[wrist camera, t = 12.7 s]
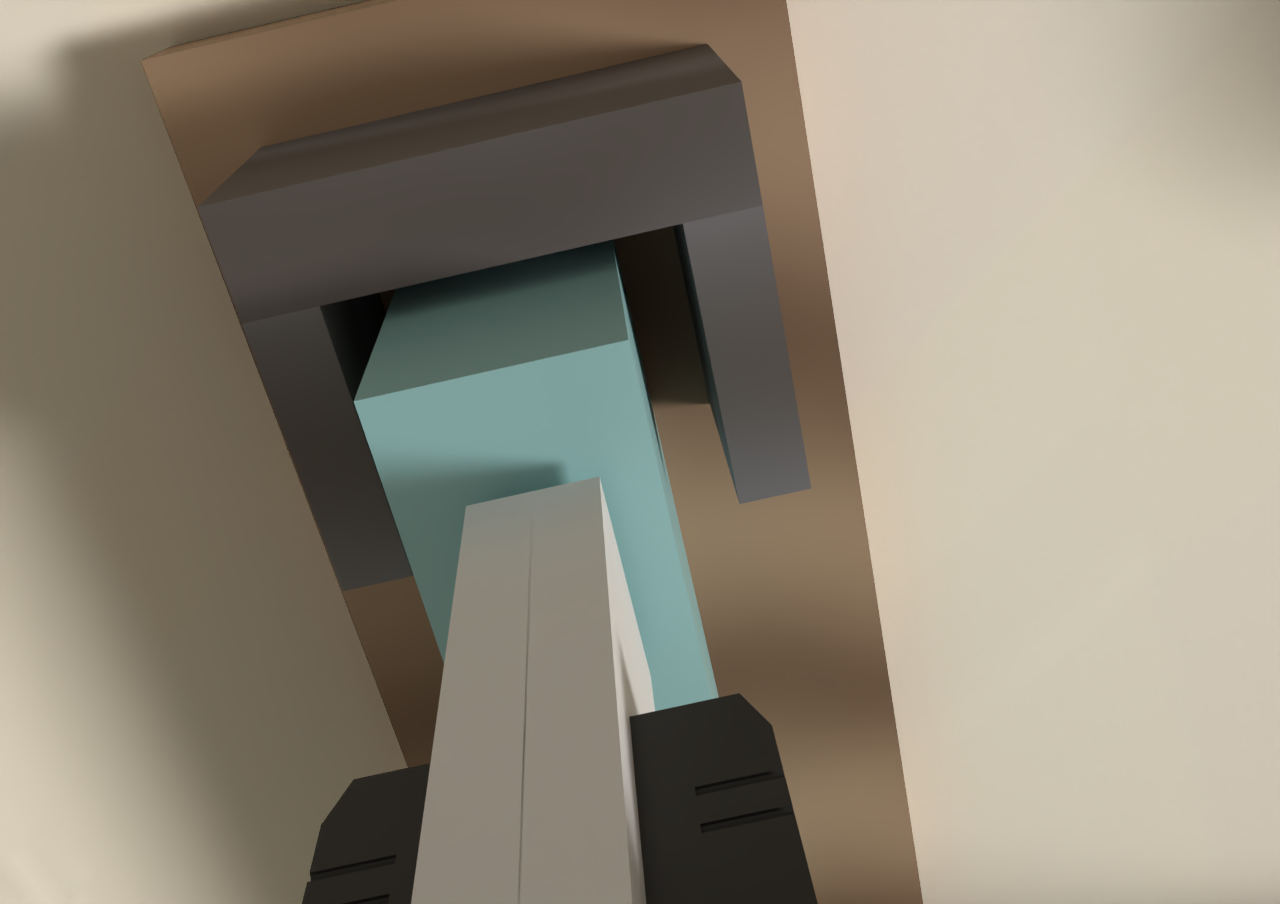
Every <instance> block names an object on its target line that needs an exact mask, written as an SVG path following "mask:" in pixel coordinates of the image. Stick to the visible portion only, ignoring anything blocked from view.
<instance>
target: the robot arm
mask: <svg viewBox="0 0 1280 904" xmlns="http://www.w3.org/2000/svg"><path fill="white" fill-rule="evenodd" d="M310 876H311V882H307V886H306V890H305V894H304V898H303V902H302V904H818V903H817V899H816V895H815V891H814V887H813V883H812V879H811V875H810V871H809V868H808V864H807V860H806V856H805V852H804V848H803V844H802V840H801V836H800V833H799V829H798V825H797V821H796V817H795V814H794V810H793V805H792V801H791V797H790V794H789V790H788V786H787V782H786V778H785V775H784V771H783V766H782V762H781V759H780V755H779V751H778V747H777V743H776V739H775V735H774V731H773V727H772V725H771V724H770V723H769V722H768V721H767V720H766V719H765V718H764V717H763V716H762V715H761V714H760V713H759V712H758V711H757V710H756V709H755V708H754V707H753V706H752V705H751V704H750V703H749V702H748V701H747V700H746V699H745V698H744V697H743V696H742V695H741V694H740V693H738V694H733V695H728V696H724V697H719V698H714V699H710V700H705V701H700V702H696V703H691V704H686V705H682V706H677V707H672V708H667V709H663V710H658V711H655V706H654V698H653V690H652V682H651V675H650V671H649V667H648V663H647V660H646V656H645V652H644V648H643V644H642V640H641V636H640V632H639V628H638V625H637V621H636V617H635V613H634V609H633V605H632V601H631V597H630V593H629V589H628V586H627V582H626V578H625V574H624V570H623V566H622V562H621V558H620V554H619V551H618V547H617V543H616V539H615V535H614V531H613V527H612V523H611V519H610V515H609V512H608V508H607V504H606V500H605V496H604V492H603V488H602V484H601V480H600V477H595V478H590V479H586V480H581V481H576V482H572V483H567V484H563V485H558V486H554V487H549V488H545V489H540V490H536V491H531V492H527V493H522V494H518V495H513V496H509V497H504V498H500V499H495V500H491V501H486V502H481V503H477V504H472V505H468V506H466V510H465V517H464V524H463V531H462V539H461V546H460V553H459V560H458V568H457V575H456V582H455V589H454V597H453V604H452V611H451V618H450V626H449V633H448V640H447V647H446V654H445V662H444V669H443V676H442V683H441V691H440V698H439V705H438V712H437V720H436V727H435V734H434V741H433V748H432V756H431V763H429V764H424V765H420V766H415V767H410V768H406V769H401V770H396V771H392V772H387V773H382V774H378V775H373V776H368V777H364V778H359V779H354V780H353V781H352V783H351V784H350V786H349V787H348V788H347V790H346V791H345V793H344V794H343V795H342V797H341V798H340V800H339V801H338V802H337V804H336V805H335V807H334V808H333V809H332V811H331V812H330V814H329V815H328V816H327V818H326V819H325V821H324V822H323V823H322V825H321V828H320V832H319V837H318V841H317V845H316V849H315V853H314V857H313V861H312V865H311V869H310Z"/></svg>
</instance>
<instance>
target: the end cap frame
mask: <svg viewBox="0 0 1280 904" xmlns="http://www.w3.org/2000/svg"><path fill="white" fill-rule="evenodd" d="M141 63H142V66H143V68H144V71H145V74H146V76H147V79H148V81H149V84H150V87H151V89H152V92H153V95H154V97H155V100H156V103H157V105H158V108H159V110H160V113H161V116H162V118H163V121H164V124H165V126H166V129H167V132H168V134H169V137H170V140H171V142H172V145H173V147H174V150H175V153H176V155H177V158H178V161H179V163H180V166H181V169H182V171H183V174H184V177H185V179H186V182H187V184H188V187H189V190H190V192H191V195H192V198H193V200H194V203H195V206H196V208H197V211H198V213H199V216H200V219H201V221H202V224H203V227H204V229H205V232H206V235H207V237H208V240H209V243H210V245H211V248H212V250H213V253H214V256H215V258H216V261H217V264H218V266H219V269H220V272H221V274H222V277H223V280H224V282H225V285H226V287H227V290H228V293H229V295H230V298H231V301H232V303H233V306H234V309H235V311H236V314H237V316H238V319H239V322H240V324H241V327H242V330H243V332H244V335H245V338H246V340H247V343H248V346H249V348H250V351H251V353H252V356H253V359H254V361H255V364H256V367H257V369H258V372H259V375H260V377H261V380H262V382H263V385H264V388H265V390H266V393H267V396H268V398H269V401H270V404H271V406H272V409H273V412H274V414H275V417H276V419H277V422H278V425H279V427H280V430H281V433H282V435H283V438H284V441H285V443H286V446H287V449H288V451H289V454H290V456H291V459H292V462H293V464H294V467H295V470H296V472H297V475H298V478H299V480H300V483H301V485H302V488H303V491H304V493H305V496H306V499H307V501H308V504H309V507H310V509H311V512H312V515H313V517H314V520H315V522H316V525H317V528H318V530H319V533H320V536H321V538H322V541H323V544H324V546H325V549H326V551H327V554H328V557H329V559H330V562H331V565H332V567H333V570H334V573H335V575H336V578H337V581H338V583H339V586H340V588H341V591H342V594H343V596H344V599H345V602H346V604H347V607H348V610H349V612H350V615H351V618H352V620H353V623H354V625H355V628H356V631H357V633H358V636H359V639H360V641H361V644H362V647H363V649H364V652H365V654H366V657H367V660H368V662H369V665H370V668H371V670H372V673H373V676H374V678H375V681H376V684H377V686H378V689H379V691H380V694H381V697H382V699H383V702H384V705H385V707H386V710H387V713H388V715H389V718H390V721H391V723H392V726H393V728H394V731H395V734H396V736H397V739H398V742H399V744H400V747H401V750H402V752H403V755H404V757H405V760H406V763H407V765H408V768H410V767H415V766H420V765H424V764H429V763H431V756H432V748H433V741H434V734H435V727H436V720H437V712H438V705H439V698H440V691H441V683H442V676H443V669H444V662H443V659H442V656H441V653H440V650H439V647H438V645H437V642H436V639H435V636H434V633H433V630H432V627H431V624H430V621H429V618H428V616H427V613H426V610H425V607H424V604H423V601H422V598H421V595H420V592H419V589H418V587H417V584H416V581H415V578H414V575H413V572H412V569H411V566H410V563H409V560H408V558H407V555H406V552H405V549H404V546H403V543H402V540H401V537H400V534H399V531H398V529H397V526H396V523H395V520H394V517H393V514H392V511H391V508H390V505H389V502H388V500H387V497H386V494H385V491H384V488H383V485H382V482H381V479H380V476H379V473H378V471H377V468H376V465H375V462H374V459H373V456H372V453H371V450H370V447H369V444H368V442H367V439H366V436H365V433H364V430H363V427H362V424H361V421H360V418H359V416H358V413H357V410H356V407H355V404H354V399H355V396H356V394H357V391H358V388H359V386H360V383H361V380H362V378H363V375H364V372H365V370H366V367H367V364H368V362H369V359H370V356H371V354H372V351H373V348H374V346H375V343H376V340H377V338H378V335H379V332H380V330H381V327H382V324H383V322H384V319H385V316H386V314H387V311H388V308H389V306H390V303H391V300H392V298H393V295H394V292H395V290H396V289H397V288H402V287H406V286H410V285H415V284H419V283H424V282H428V281H432V280H437V279H441V278H446V277H450V276H454V275H459V274H463V273H468V272H472V271H476V270H481V269H485V268H490V267H494V266H498V265H503V264H507V263H512V262H516V261H520V260H525V259H529V258H534V257H538V256H542V255H547V254H551V253H556V252H560V251H564V250H569V249H573V248H578V247H582V246H586V245H591V244H595V243H600V242H604V241H608V240H613V239H615V244H616V248H617V253H618V257H619V261H620V266H621V270H622V274H623V279H624V283H625V288H626V292H627V296H628V301H629V305H630V310H631V314H632V318H633V323H634V327H635V332H636V336H637V340H638V345H639V349H640V354H641V358H642V362H643V367H644V371H645V375H646V380H647V384H648V389H649V393H650V397H651V402H652V406H653V411H654V415H655V419H656V424H657V428H658V433H659V437H660V441H661V446H662V450H663V454H664V459H665V463H666V468H667V472H668V476H669V481H670V485H671V490H672V494H673V498H674V503H675V507H676V512H677V516H678V520H679V525H680V529H681V534H682V538H683V542H684V547H685V551H686V555H687V560H688V564H689V569H690V573H691V577H692V582H693V586H694V591H695V595H696V599H697V604H698V608H699V613H700V617H701V621H702V626H703V630H704V634H705V639H706V643H707V648H708V652H709V656H710V661H711V665H712V670H713V674H714V678H715V683H716V687H717V692H718V696H719V697H724V696H728V695H733V694H738V693H740V694H741V695H742V696H743V697H744V698H745V699H746V700H747V701H748V702H749V703H750V704H751V705H752V706H753V707H754V708H755V709H756V710H757V711H758V712H759V713H760V714H761V715H762V716H763V717H764V718H765V719H766V720H767V721H768V722H769V723H770V724H771V725H772V727H773V731H774V735H775V739H776V743H777V747H778V751H779V755H780V759H781V762H782V766H783V771H784V775H785V778H786V782H787V786H788V790H789V794H790V797H791V801H792V805H793V810H794V814H795V817H796V821H797V825H798V829H799V833H800V836H801V840H802V844H803V848H804V852H805V856H806V860H807V864H808V868H809V871H810V875H811V879H812V883H813V887H814V891H815V895H816V899H817V903H818V904H923V901H922V894H921V888H920V881H919V874H918V868H917V861H916V855H915V848H914V841H913V835H912V828H911V822H910V815H909V808H908V802H907V795H906V789H905V782H904V775H903V769H902V762H901V756H900V749H899V742H898V736H897V729H896V723H895V716H894V709H893V703H892V696H891V690H890V683H889V676H888V670H887V663H886V657H885V650H884V643H883V637H882V630H881V624H880V617H879V610H878V604H877V597H876V591H875V584H874V578H873V571H872V564H871V558H870V551H869V545H868V538H867V531H866V525H865V518H864V512H863V505H862V498H861V492H860V485H859V479H858V472H857V465H856V459H855V452H854V446H853V439H852V432H851V426H850V419H849V413H848V406H847V399H846V393H845V386H844V380H843V373H842V366H841V360H840V353H839V347H838V340H837V333H836V327H835V320H834V314H833V307H832V300H831V294H830V287H829V281H828V274H827V267H826V261H825V254H824V248H823V241H822V235H821V228H820V221H819V215H818V208H817V202H816V195H815V188H814V182H813V175H812V169H811V162H810V155H809V149H808V142H807V136H806V129H805V122H804V116H803V109H802V103H801V96H800V89H799V83H798V76H797V70H796V63H795V56H794V50H793V43H792V37H791V30H790V23H789V17H788V10H787V4H786V0H368V1H363V2H359V3H355V4H351V5H346V6H342V7H338V8H334V9H329V10H325V11H321V12H317V13H312V14H308V15H304V16H300V17H295V18H291V19H287V20H283V21H278V22H274V23H270V24H266V25H261V26H257V27H253V28H249V29H244V30H240V31H236V32H232V33H227V34H223V35H219V36H215V37H210V38H206V39H202V40H198V41H193V42H189V43H185V44H181V45H176V46H172V47H169V48H167V49H165V50H163V51H161V52H158V53H156V54H154V55H152V56H150V57H148V58H145V59H143V60H141Z"/></svg>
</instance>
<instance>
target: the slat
mask: <svg viewBox="0 0 1280 904" xmlns="http://www.w3.org/2000/svg"><path fill="white" fill-rule="evenodd" d="M354 404H355V407H356V410H357V413H358V416H359V418H360V421H361V424H362V427H363V430H364V433H365V436H366V439H367V442H368V444H369V447H370V450H371V453H372V456H373V459H374V462H375V465H376V468H377V471H378V473H379V476H380V479H381V482H382V485H383V488H384V491H385V494H386V497H387V500H388V502H389V505H390V508H391V511H392V514H393V517H394V520H395V523H396V526H397V529H398V531H399V534H400V537H401V540H402V543H403V546H404V549H405V552H406V555H407V558H408V560H409V563H410V566H411V569H412V572H413V575H414V578H415V581H416V584H417V587H418V589H419V592H420V595H421V598H422V601H423V604H424V607H425V610H426V613H427V616H428V618H429V621H430V624H431V627H432V630H433V633H434V636H435V639H436V642H437V645H438V647H439V650H440V653H441V656H442V659H443V662H445V654H446V647H447V640H448V633H449V626H450V618H451V611H452V604H453V597H454V589H455V582H456V575H457V568H458V560H459V553H460V546H461V539H462V531H463V524H464V517H465V510H466V506H468V505H472V504H477V503H481V502H486V501H491V500H495V499H500V498H504V497H509V496H513V495H518V494H522V493H527V492H531V491H536V490H540V489H545V488H549V487H554V486H558V485H563V484H567V483H572V482H576V481H581V480H586V479H590V478H595V477H600V480H601V484H602V488H603V492H604V496H605V500H606V504H607V508H608V512H609V515H610V519H611V523H612V527H613V531H614V535H615V539H616V543H617V547H618V551H619V554H620V558H621V562H622V566H623V570H624V574H625V578H626V582H627V586H628V589H629V593H630V597H631V601H632V605H633V609H634V613H635V617H636V621H637V625H638V628H639V632H640V636H641V640H642V644H643V648H644V652H645V656H646V660H647V663H648V667H649V671H650V675H651V682H652V690H653V698H654V706H655V711H658V710H663V709H667V708H672V707H677V706H682V705H686V704H691V703H696V702H700V701H705V700H710V699H714V698H719V696H718V692H717V687H716V683H715V678H714V674H713V670H712V665H711V661H710V656H709V652H708V648H707V643H706V639H705V634H704V630H703V626H702V621H701V617H700V613H699V608H698V604H697V599H696V595H695V591H694V586H693V582H692V577H691V573H690V569H689V564H688V560H687V555H686V551H685V547H684V542H683V538H682V534H681V529H680V525H679V520H678V516H677V512H676V507H675V503H674V498H673V494H672V490H671V485H670V481H669V476H668V472H667V468H666V463H665V459H664V454H663V450H662V446H661V441H660V437H659V433H658V428H657V424H656V419H655V415H654V411H653V406H652V402H651V397H650V393H649V389H648V384H647V380H646V375H645V371H644V367H643V362H642V358H641V354H640V349H639V345H638V340H637V336H636V332H635V327H634V323H633V318H632V314H631V310H630V305H629V301H628V296H627V292H626V288H625V283H624V279H623V274H622V270H621V266H620V261H619V257H618V253H617V248H616V244H615V239H613V240H608V241H604V242H600V243H595V244H591V245H586V246H582V247H578V248H573V249H569V250H564V251H560V252H556V253H551V254H547V255H542V256H538V257H534V258H529V259H525V260H520V261H516V262H512V263H507V264H503V265H498V266H494V267H490V268H485V269H481V270H476V271H472V272H468V273H463V274H459V275H454V276H450V277H446V278H441V279H437V280H432V281H428V282H424V283H419V284H415V285H410V286H406V287H402V288H397V289H396V290H395V292H394V295H393V298H392V300H391V303H390V306H389V308H388V311H387V314H386V316H385V319H384V322H383V324H382V327H381V330H380V332H379V335H378V338H377V340H376V343H375V346H374V348H373V351H372V354H371V356H370V359H369V362H368V364H367V367H366V370H365V372H364V375H363V378H362V380H361V383H360V386H359V388H358V391H357V394H356V396H355V399H354Z"/></svg>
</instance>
